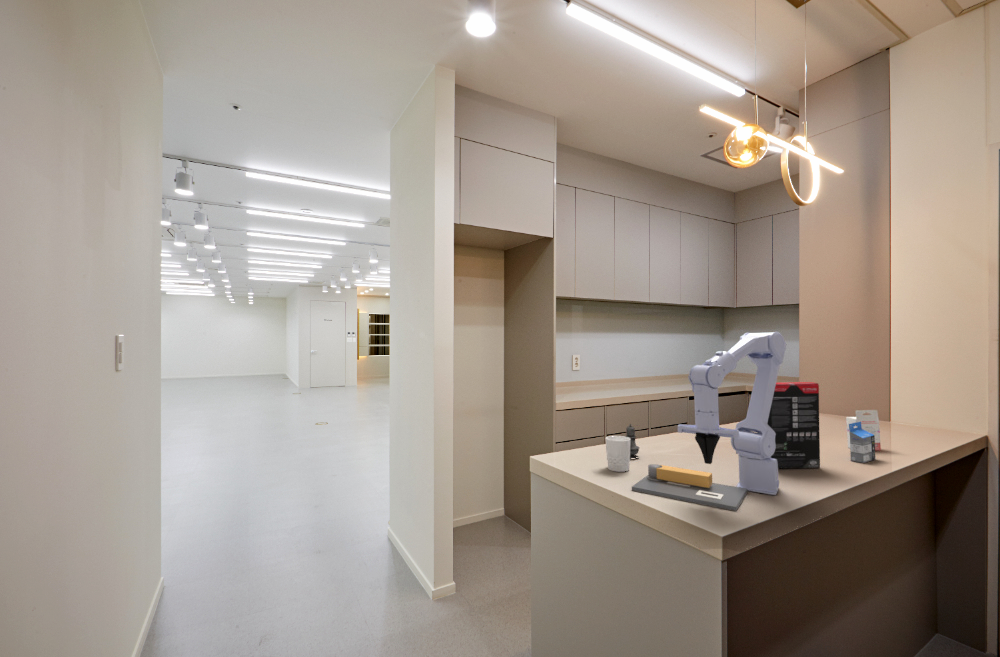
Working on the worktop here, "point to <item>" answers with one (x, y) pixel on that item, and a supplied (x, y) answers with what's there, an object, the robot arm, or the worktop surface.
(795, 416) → the graphics card box
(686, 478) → the swing bar
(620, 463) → the white cup
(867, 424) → the ink cartridge box
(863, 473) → the worktop surface
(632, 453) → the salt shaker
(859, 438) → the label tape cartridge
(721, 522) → the worktop surface
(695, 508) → the worktop surface
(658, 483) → the label board
